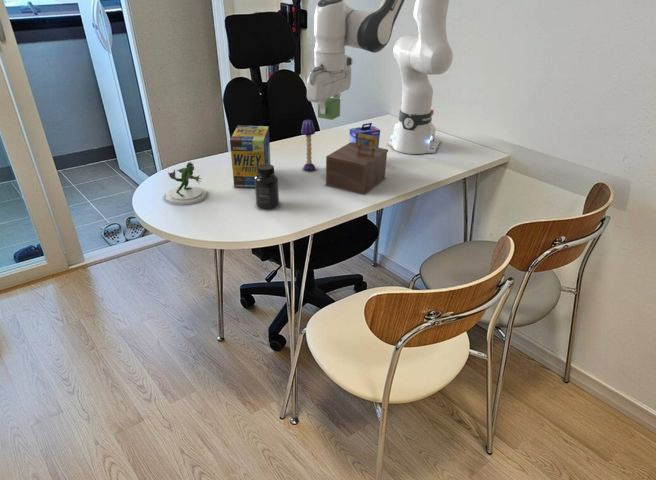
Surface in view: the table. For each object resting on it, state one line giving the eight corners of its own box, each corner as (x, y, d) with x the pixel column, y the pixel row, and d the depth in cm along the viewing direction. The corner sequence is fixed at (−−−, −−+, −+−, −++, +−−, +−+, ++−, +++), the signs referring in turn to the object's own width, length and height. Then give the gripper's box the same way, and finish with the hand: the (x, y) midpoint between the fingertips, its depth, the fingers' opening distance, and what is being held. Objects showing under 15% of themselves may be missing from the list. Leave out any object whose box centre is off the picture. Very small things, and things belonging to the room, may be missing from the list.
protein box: (233, 188, 157) (229, 139, 149) (241, 170, 170) (237, 124, 162) (266, 188, 157) (263, 140, 149) (271, 170, 170) (269, 125, 162)
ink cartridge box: (354, 167, 174) (356, 126, 166) (347, 162, 178) (348, 121, 170) (378, 163, 178) (381, 122, 170) (370, 158, 182) (373, 118, 174)
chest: (348, 170, 172) (349, 145, 167) (384, 178, 166) (387, 152, 161) (325, 185, 160) (326, 158, 155) (363, 194, 154) (365, 167, 149)
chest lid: (350, 144, 167) (351, 129, 164) (388, 151, 161) (389, 136, 159) (326, 158, 155) (326, 143, 152) (365, 167, 149) (366, 151, 147)
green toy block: (326, 113, 154) (326, 97, 152) (340, 116, 152) (340, 99, 149) (317, 117, 151) (317, 100, 148) (331, 119, 149) (332, 102, 146)
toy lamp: (313, 172, 169) (313, 123, 160) (300, 171, 170) (299, 122, 160) (316, 167, 173) (316, 119, 164) (303, 166, 174) (303, 118, 164)
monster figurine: (213, 197, 151) (209, 164, 146) (178, 208, 145) (172, 175, 139) (193, 185, 159) (188, 154, 153) (158, 195, 152) (152, 163, 146)
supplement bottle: (284, 205, 147) (282, 166, 141) (267, 212, 143) (264, 173, 136) (268, 198, 151) (266, 160, 144) (251, 205, 147) (248, 166, 140)
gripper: (320, 69, 134) (320, 121, 142) (355, 57, 149) (353, 104, 156) (300, 67, 137) (301, 117, 144) (337, 55, 151) (336, 102, 159)
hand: (329, 110), depth 151 cm, fingers closed on green toy block, 5 cm apart
